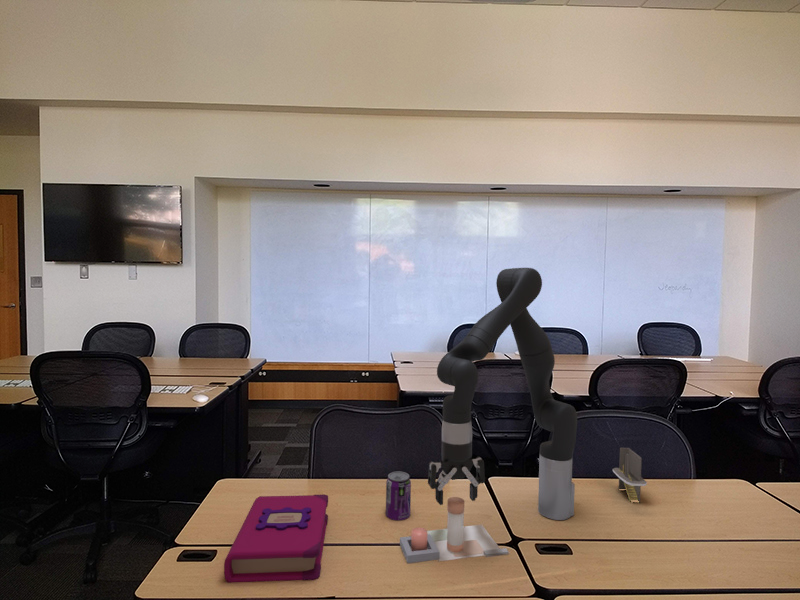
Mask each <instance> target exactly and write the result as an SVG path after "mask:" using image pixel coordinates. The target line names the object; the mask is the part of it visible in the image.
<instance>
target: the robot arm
mask: <svg viewBox="0 0 800 600" xmlns="http://www.w3.org/2000/svg"><path fill="white" fill-rule="evenodd" d="M495 283H496V284H495V285H496V290H497V294H498V297H499V299H500V304H498V305H497V306H496V307H494V308H493V309H491V310H490V311H488V313H486V314H485V315H484V316H482V317H481V318H480V319H478V320H477V322H475V323H474V325H473V326H472V327H471V329H470V330H469V331H468V333H467V334H466V335H465V337H463V340H461V342H459V343H458V344H456V345H455V346H454V347H453V348H451V349H450V350H449V351H448V352H446V354H444V356H442V358H441V359H440V361H439V362H438V366H437V368H436V375H437V378H438V380H439V381H440V382H442V383H443V384H444V385H448V386H452V387H454V391H453V393H452V394H449V395H446V396H445V397H444V399H443V401H442V424H441V460H440V461H439V462H434V461H433V460H432V461H431V460H430V461H429V463H428V475H427V484H428V485H429V487H430V489H432V490H435V497H434V498H435V500H436V502H437V503H438V504H439V506H443V505H444V490H443V489H444V487H445V486H446V485H447V484H448V483H449V482H450V481H451V480H452V481H454V480H455V481H456V480H457V479H460V480H463V479H464V478H467V479H468V480H469V482H470V483H469V499H470V500H471V501H472V502H475V501H476V499H477V498H478V486H479V485H481V484H485V482H486V476H485V475H486V473H485V461H484V460H483V459H482V457H480V456H476V458H472V457H473V426H472V403H473V401H474V396H475V392H476V388H477V385H478V380H479V372H478V369H477V366H476V364H475V363H474V362H477V361H482V360H484V359H485V358H486V357H487V355H488V354H489V353H490V351H491V350H492V349H493V348H494V346H495V344H496V343H497V341H498V340H499V339H500V337H501V335H503V333H504V332H505V331H506V330H507V328H508V327H509V326H510V327H511V328H510V329H511V330H512V334H513V337H514V339H515V344H516V347H517V352H518V354H519V358H520V362H521V365H522V367H523V371H524V375H525V378H526V382H527V386H528V389H529V393H530V401H531V406H532V407H531V408H532V411H533V417H534V421H535V423H536V424H537V425H538V427H540V428H541V429H543V430H546V431H548V432H550V433H552V440H547V441H543V442H542V443H540V445H539V459H538V460H539V461H538V462H539V463H538V464H539V465H538V467H539V468H538V470H539V471H538V497H537V498H538V499H537V500H538V501H537V510H538V513H539V514H540V515H541V516H543V517H544V518H548V519H551V520H555V521H556V520H557V521H565V520H568V519H569V518H571V517H573V516H575V515H574V514H575V490H576V487H575V485H576V484H575V483H574V482H573V454H574V450H575V448H576V447H575V446H576V442H577V441H576V440H577V428H578V413H577V411H576V409H575V407H574V406H573V405H571V404H570V403H569V404H568V403H566V402H563V401H559V400H555V399H554V397H553V395H552V392H551V388H550V378H551V377H552V374H553V371H554V367H555V364H556V363H555V360H556V359H555V354H554V352H553V348H552V343H551V341H550V338H549V336H548V335H547V333H546V332H545V331H544V329H543V328H542V327H541V326H540V325H539V323H537V321H536V320H535V319H534V318H533V316H532V315H531V313H530V311H529V310H528V307H529V306H530V305H531V304H532V303H533V302H534V301H535V300H536V299H537V298H538V296H539V295H540V293H541V290H542V287H543V279H542V276H541V273H540V272H539V271H538V270H537V269H535V268H533V267H513V268H504V269H502V270H500V271H499V273H498V274H497V278H496V282H495ZM473 466H474V467H475V468H476V469H475V470H476V476H475V477H474V475H473V474H472V473H471V472H470V471H471V470H472V468H473ZM439 469H441V470H442V471H441V472H440V473H439V475H438V478H437V473H438V472H439Z"/></svg>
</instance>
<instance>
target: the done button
mask: <svg viewBox="0 0 800 600" xmlns="http://www.w3.org/2000/svg"><path fill="white" fill-rule="evenodd" d="M427 531H428V530H427V529H425V528H423V527H414V528H412V530H411V532H410V534H411V535H410V536H411V547H410V548H411V550H412V551H420V550H428V548H427V533H428V532H427Z"/></svg>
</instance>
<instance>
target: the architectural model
mask: <svg viewBox="0 0 800 600" xmlns="http://www.w3.org/2000/svg"><path fill="white" fill-rule="evenodd" d="M642 460H643V459H642V456H640V455H638V454H637V453H636V452H635V451H633V450H632V449H631V448H630V447H619V467H614V468H612V472H613V474H615V475H616V476H617V478H618V490H619V489H626V491H625V492H626V494H627V496H628V501H629V502H630V501H631V500H638V501H639V502H640V503H641V487H646V486H647V484H648V482H647V481H646V480H645V479H644V478H643V477H642Z"/></svg>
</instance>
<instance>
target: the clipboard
mask: <svg viewBox="0 0 800 600" xmlns="http://www.w3.org/2000/svg"><path fill="white" fill-rule="evenodd" d="M427 532H428V533H427V534H430V535H431V537H432V539H433V541H434V542H435V544H436V546H437V548H438V550H439V552H440V556H439V559H437V562H444V561H453V560H461V559H467V558H475V557H483V556H485V558H490V557H498V556H505V555H509V554H510V551H508V549H507V547H502V548H501V547H500V546H499V545H498V544H497V542H496V541H495V539H493V537H492V536H491V535H490V533H489V532H488V531H487V529H486V528H485V526H483V524H476V525H467V526H463V552H462V553H460V554H452V553H450V552H448V550H447V528H442V529H441V528H440V529H431V530H430V529H429V530H427Z"/></svg>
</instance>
